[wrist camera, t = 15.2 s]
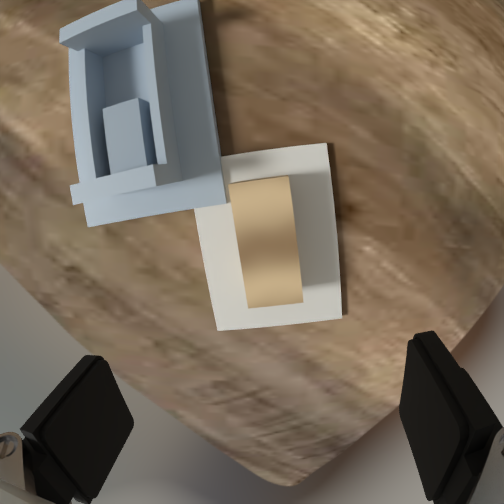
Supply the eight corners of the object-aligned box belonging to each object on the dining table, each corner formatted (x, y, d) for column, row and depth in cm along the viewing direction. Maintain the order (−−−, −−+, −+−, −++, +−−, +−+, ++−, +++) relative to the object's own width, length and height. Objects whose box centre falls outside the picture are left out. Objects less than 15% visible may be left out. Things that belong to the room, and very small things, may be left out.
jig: (74, 45, 25) (32, 26, 18) (199, 1, 23) (177, -38, 16) (94, 225, 30) (49, 242, 23) (228, 201, 28) (210, 215, 21)
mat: (325, 143, 26) (326, 143, 26) (341, 315, 30) (342, 318, 30) (188, 162, 28) (186, 162, 27) (218, 327, 32) (217, 330, 31)
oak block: (234, 182, 27) (228, 184, 24) (287, 174, 27) (288, 176, 23) (251, 292, 30) (248, 308, 26) (301, 286, 29) (303, 302, 26)
